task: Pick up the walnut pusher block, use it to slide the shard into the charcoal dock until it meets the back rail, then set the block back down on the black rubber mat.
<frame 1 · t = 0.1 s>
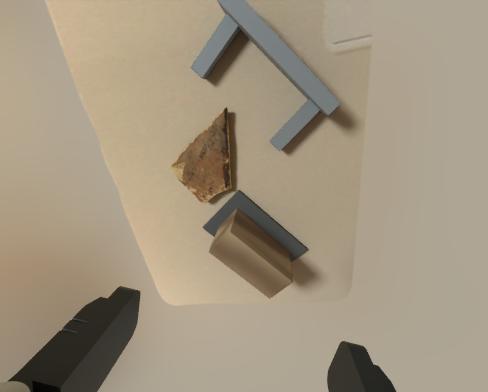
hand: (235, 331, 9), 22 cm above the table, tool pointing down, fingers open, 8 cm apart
pusher block: (253, 251, 31), on the rest mat
dock: (236, 113, 27), on the table
shard: (202, 155, 31), on the table
rest mat: (254, 237, 34), on the table
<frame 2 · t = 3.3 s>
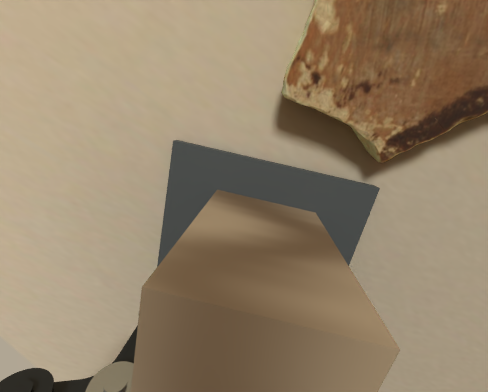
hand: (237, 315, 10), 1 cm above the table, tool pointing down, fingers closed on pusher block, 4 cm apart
pusher block: (231, 366, 8), on the rest mat, touching gripper
rest mat: (240, 296, 11), on the table
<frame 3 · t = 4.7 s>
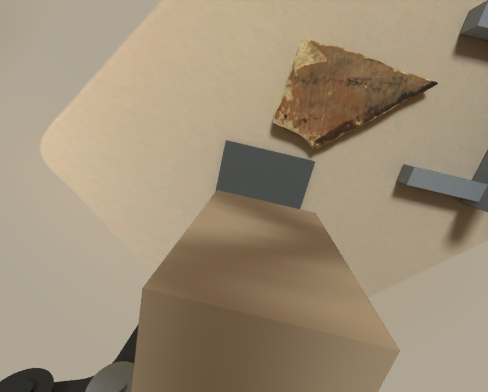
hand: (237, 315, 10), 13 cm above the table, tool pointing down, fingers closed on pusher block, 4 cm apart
pusher block: (231, 366, 8), point 15 cm above the table, touching gripper
dock: (423, 102, 19), on the table
shard: (335, 83, 20), on the table
rest mat: (253, 217, 23), on the table
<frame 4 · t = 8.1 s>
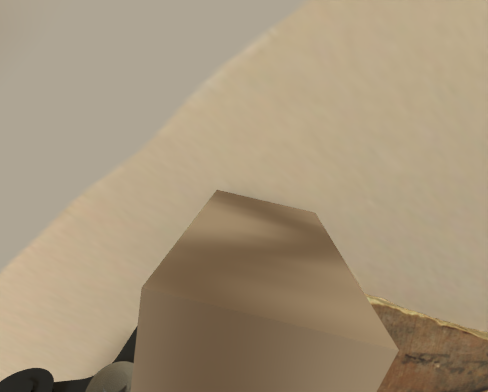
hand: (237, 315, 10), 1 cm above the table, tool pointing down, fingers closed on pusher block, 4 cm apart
pusher block: (230, 366, 8), on the table, touching gripper
shard: (376, 319, 12), on the table, touching gripper
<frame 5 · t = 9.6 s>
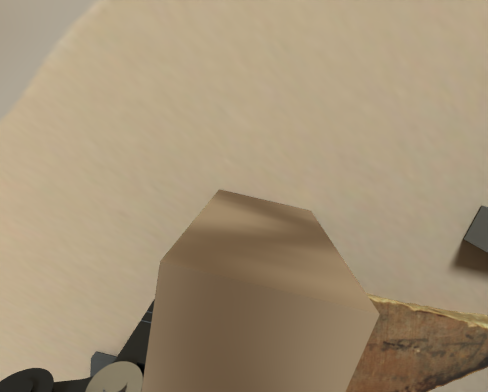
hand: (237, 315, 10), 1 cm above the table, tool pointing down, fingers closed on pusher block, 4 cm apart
pusher block: (232, 354, 8), on the table, touching gripper
dock: (402, 329, 11), on the table
shard: (358, 309, 12), on the table
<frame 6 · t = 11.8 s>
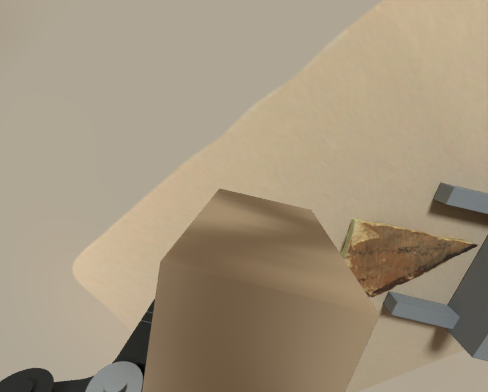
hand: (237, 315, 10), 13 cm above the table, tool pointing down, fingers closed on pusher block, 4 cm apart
pusher block: (232, 352, 8), point 15 cm above the table, touching gripper
dock: (404, 247, 22), on the table
shard: (384, 239, 23), on the table
when the fingers open (2 cm above the table, at t = 15.1 s): pusher block stays where it is, resting on rest mat.
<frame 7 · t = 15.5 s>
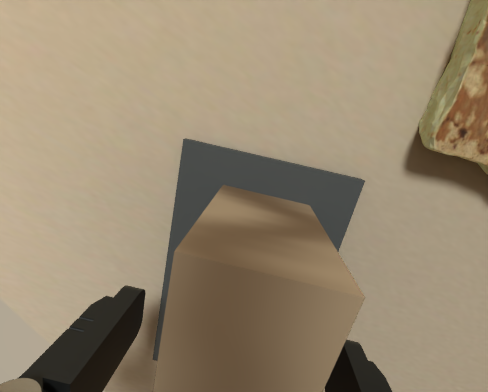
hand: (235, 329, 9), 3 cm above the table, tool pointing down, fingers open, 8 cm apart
pusher block: (235, 336, 9), on the rest mat
rest mat: (242, 279, 12), on the table
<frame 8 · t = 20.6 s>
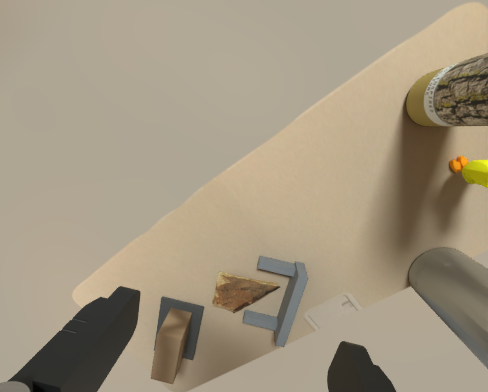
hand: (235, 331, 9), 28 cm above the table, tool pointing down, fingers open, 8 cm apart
pusher block: (172, 344, 42), on the rest mat
dock: (248, 286, 41), on the table
bark log stump: (429, 100, 31), on the table
shard: (239, 281, 42), on the table
rest mat: (178, 328, 45), on the table
toy figure: (456, 162, 33), on the table
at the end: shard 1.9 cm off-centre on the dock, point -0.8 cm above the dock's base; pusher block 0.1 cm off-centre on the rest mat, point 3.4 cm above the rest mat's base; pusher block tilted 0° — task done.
